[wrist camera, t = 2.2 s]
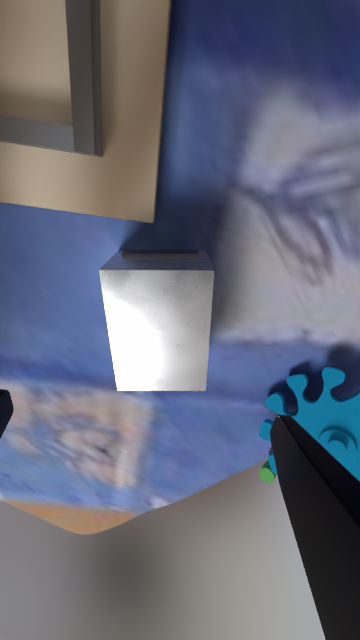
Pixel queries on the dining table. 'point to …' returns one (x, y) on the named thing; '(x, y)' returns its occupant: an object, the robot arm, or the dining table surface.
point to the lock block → (159, 318)
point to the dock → (83, 104)
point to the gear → (320, 421)
